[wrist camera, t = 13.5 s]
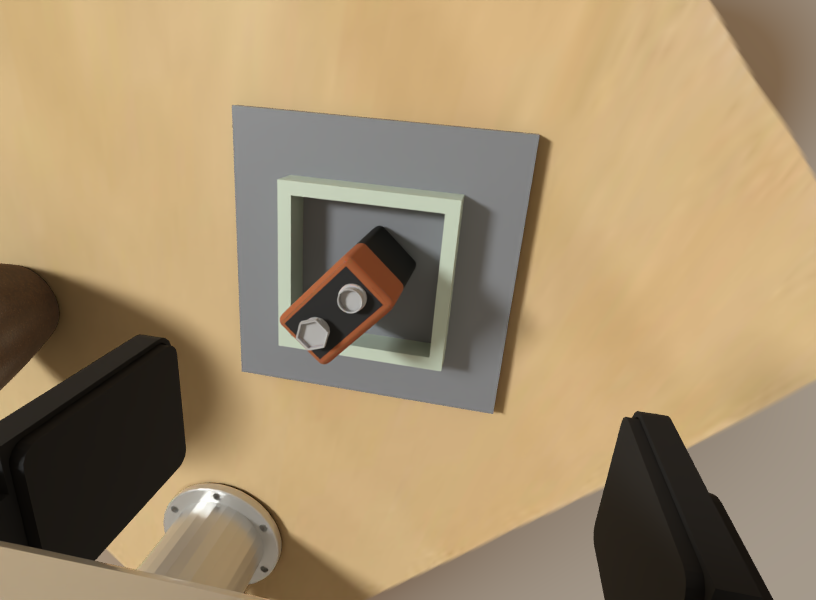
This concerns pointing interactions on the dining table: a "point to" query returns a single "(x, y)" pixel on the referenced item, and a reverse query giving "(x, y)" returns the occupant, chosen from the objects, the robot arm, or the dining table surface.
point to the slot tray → (406, 222)
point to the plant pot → (23, 318)
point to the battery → (350, 296)
